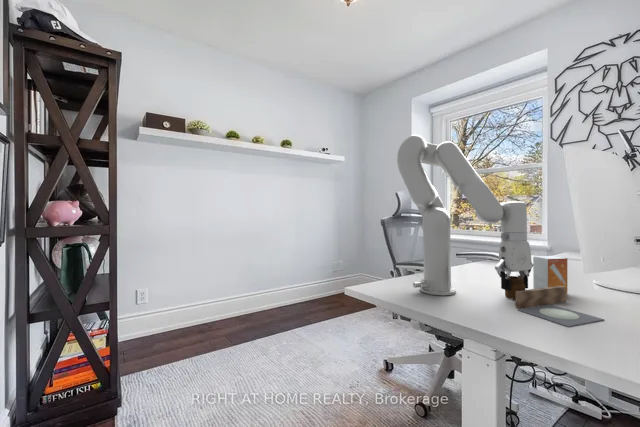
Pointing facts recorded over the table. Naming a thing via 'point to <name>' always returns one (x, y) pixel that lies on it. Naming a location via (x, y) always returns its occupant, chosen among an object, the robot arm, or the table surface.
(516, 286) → the utensil holder
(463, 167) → the robot arm
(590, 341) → the table surface
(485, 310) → the table surface
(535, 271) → the small box
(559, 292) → the low wall
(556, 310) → the mat
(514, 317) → the table surface
